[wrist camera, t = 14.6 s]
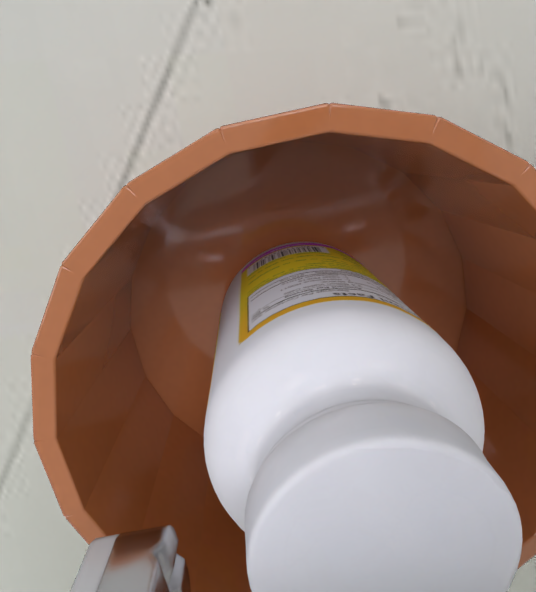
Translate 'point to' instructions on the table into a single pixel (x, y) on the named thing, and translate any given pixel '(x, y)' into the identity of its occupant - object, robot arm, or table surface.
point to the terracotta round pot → (224, 267)
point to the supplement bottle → (350, 437)
